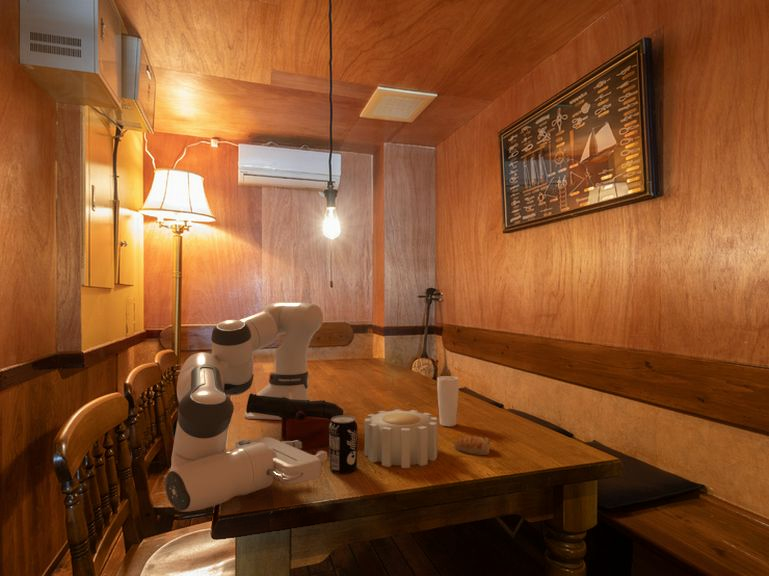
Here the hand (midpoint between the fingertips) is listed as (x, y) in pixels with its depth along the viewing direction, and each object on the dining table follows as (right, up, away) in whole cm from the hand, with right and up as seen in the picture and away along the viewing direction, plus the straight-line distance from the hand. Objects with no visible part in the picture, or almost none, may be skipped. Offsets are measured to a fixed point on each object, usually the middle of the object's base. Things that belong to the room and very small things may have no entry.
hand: (312, 449), depth 98 cm
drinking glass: (+36, -8, +42) cm, 56 cm away
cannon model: (-7, -8, +25) cm, 27 cm away
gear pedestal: (+20, -7, +17) cm, 27 cm away
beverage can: (+6, -7, +7) cm, 12 cm away
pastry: (+40, -8, +19) cm, 45 cm away
